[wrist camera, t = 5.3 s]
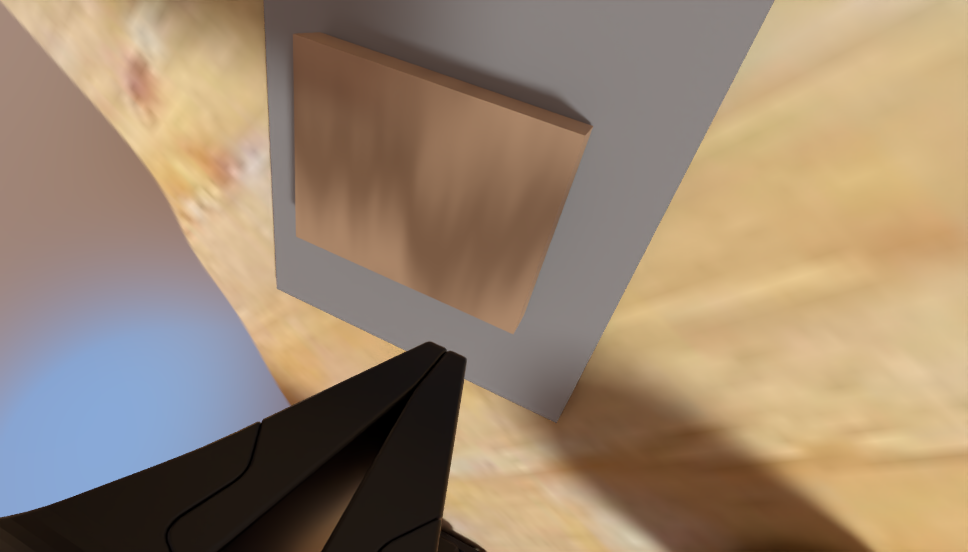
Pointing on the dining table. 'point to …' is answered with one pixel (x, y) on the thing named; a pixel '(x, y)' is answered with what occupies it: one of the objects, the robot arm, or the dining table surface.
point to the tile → (428, 176)
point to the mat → (598, 181)
